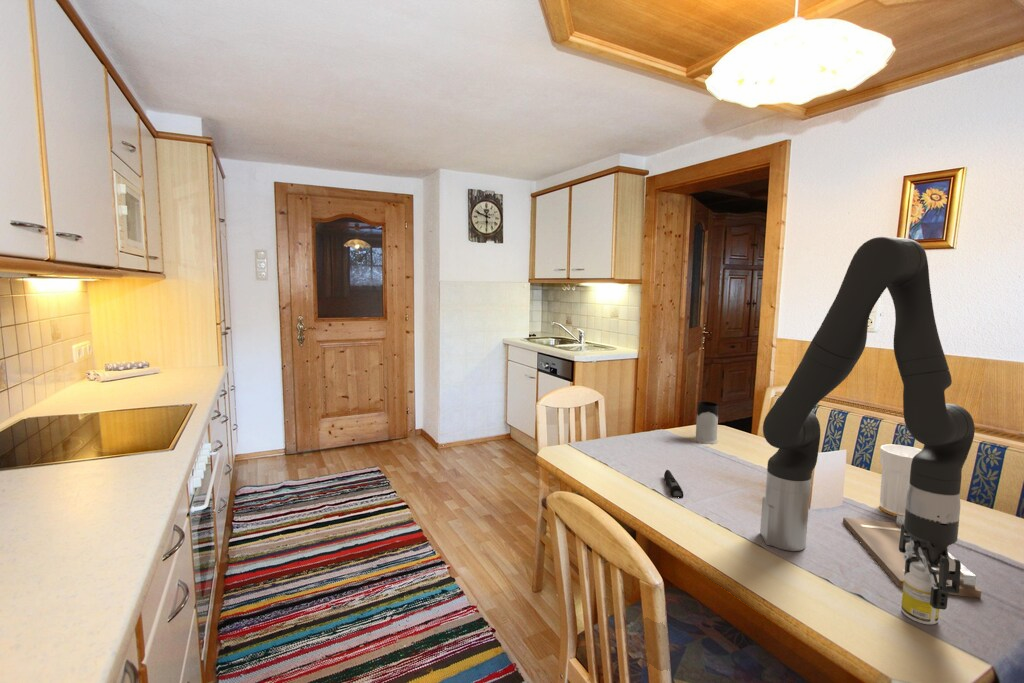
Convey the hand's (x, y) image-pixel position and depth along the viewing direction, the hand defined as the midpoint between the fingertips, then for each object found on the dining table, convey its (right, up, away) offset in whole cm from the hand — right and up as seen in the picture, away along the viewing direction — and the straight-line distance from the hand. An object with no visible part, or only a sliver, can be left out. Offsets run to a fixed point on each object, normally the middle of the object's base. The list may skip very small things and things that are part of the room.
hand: (924, 593), depth 91 cm
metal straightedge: (+18, -1, +20) cm, 27 cm away
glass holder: (+1, +8, +105) cm, 105 cm away
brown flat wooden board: (+13, -2, +21) cm, 25 cm away
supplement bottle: (0, -5, +1) cm, 5 cm away
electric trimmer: (-28, +2, +58) cm, 65 cm away
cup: (+30, 0, +43) cm, 52 cm away
